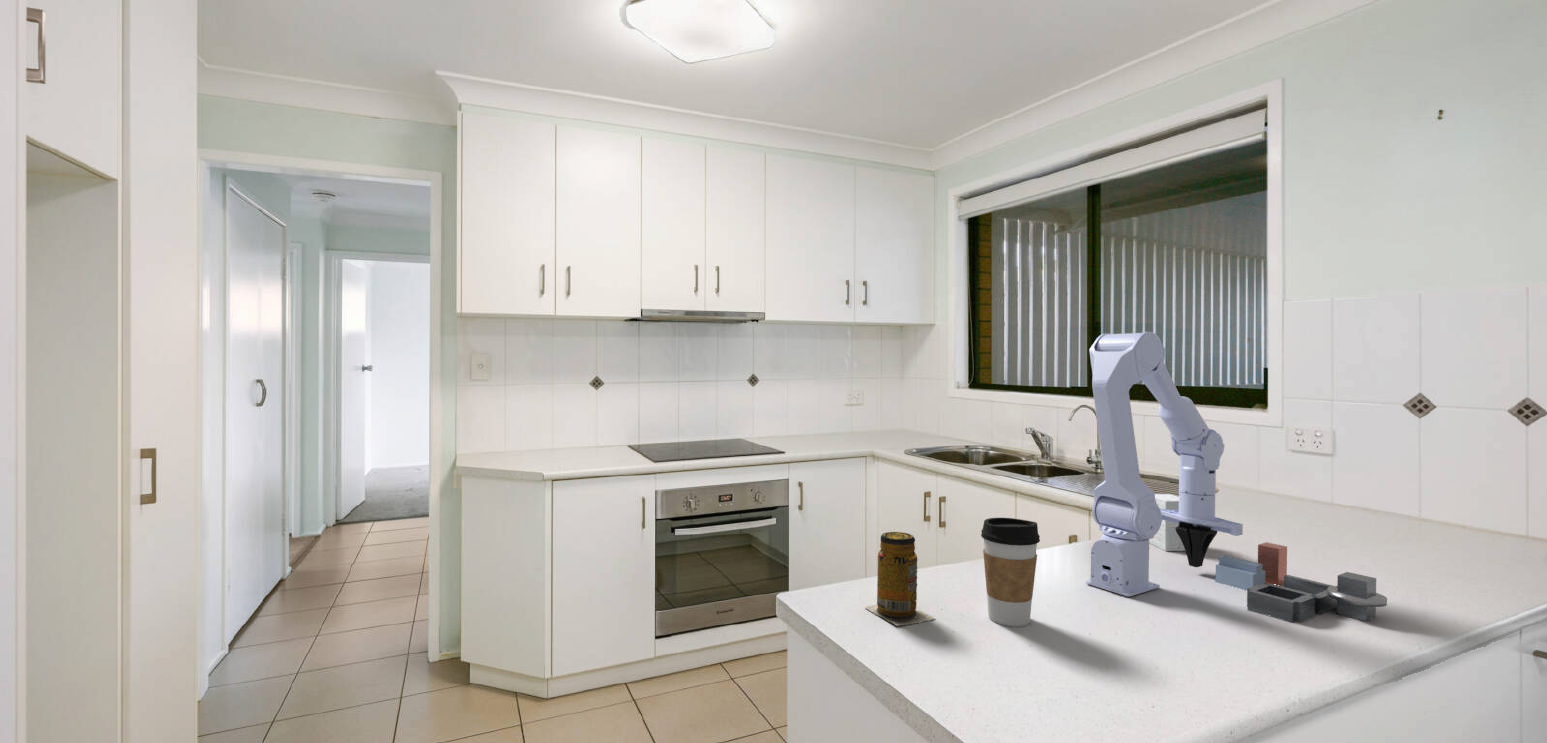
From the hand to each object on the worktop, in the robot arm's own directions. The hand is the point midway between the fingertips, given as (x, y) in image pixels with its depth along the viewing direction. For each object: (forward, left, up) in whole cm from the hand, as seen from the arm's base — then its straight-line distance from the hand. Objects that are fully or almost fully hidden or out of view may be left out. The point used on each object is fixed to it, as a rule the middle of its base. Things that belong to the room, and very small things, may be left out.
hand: (1195, 565), depth 124 cm
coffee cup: (-48, +3, -2) cm, 48 cm away
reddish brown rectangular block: (+7, -9, -2) cm, 12 cm away
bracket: (0, -7, -2) cm, 8 cm away
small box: (+14, +13, -2) cm, 19 cm away
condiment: (-61, +13, -2) cm, 62 cm away
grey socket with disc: (-4, -20, -1) cm, 20 cm away
